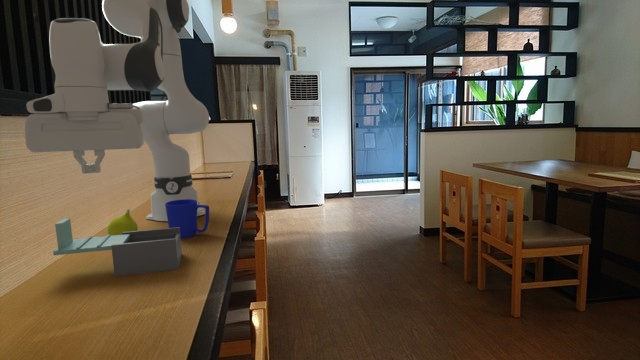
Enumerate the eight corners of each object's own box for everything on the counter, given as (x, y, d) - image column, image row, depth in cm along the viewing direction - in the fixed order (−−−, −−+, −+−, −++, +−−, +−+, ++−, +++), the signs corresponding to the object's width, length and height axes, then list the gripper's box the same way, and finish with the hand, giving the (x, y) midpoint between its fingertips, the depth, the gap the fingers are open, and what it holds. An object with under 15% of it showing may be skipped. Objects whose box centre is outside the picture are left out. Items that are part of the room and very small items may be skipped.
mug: (202, 243, 99) (200, 205, 97) (161, 241, 101) (158, 204, 100) (217, 234, 107) (215, 199, 105) (178, 232, 109) (176, 198, 108)
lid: (69, 243, 81) (65, 216, 80) (130, 237, 84) (127, 212, 83) (53, 255, 73) (49, 226, 72) (121, 248, 76) (119, 220, 75)
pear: (143, 240, 102) (140, 204, 101) (117, 248, 97) (113, 209, 95) (130, 236, 106) (127, 202, 105) (104, 243, 101) (100, 206, 99)
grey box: (125, 262, 85) (122, 232, 84) (182, 256, 89) (179, 227, 88) (115, 279, 76) (111, 245, 75) (178, 272, 79) (175, 239, 78)
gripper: (143, 103, 80) (149, 168, 82) (31, 104, 75) (41, 173, 77) (137, 102, 74) (144, 171, 76) (15, 103, 69) (26, 178, 71)
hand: (91, 172), depth 77 cm, fingers closed
